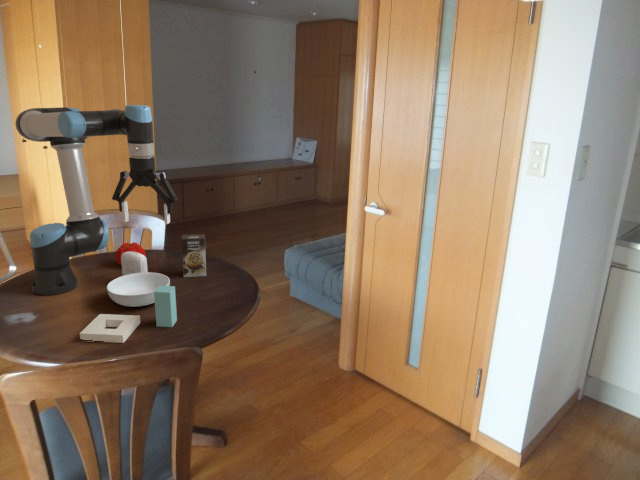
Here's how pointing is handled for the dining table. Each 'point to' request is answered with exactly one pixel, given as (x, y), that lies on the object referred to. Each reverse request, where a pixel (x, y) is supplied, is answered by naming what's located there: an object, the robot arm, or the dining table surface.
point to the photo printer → (133, 263)
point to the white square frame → (118, 335)
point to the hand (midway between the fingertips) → (146, 222)
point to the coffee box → (194, 255)
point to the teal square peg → (165, 306)
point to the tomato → (129, 247)
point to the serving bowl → (136, 288)
